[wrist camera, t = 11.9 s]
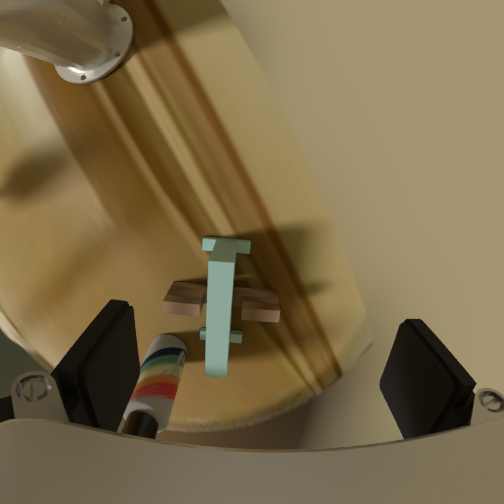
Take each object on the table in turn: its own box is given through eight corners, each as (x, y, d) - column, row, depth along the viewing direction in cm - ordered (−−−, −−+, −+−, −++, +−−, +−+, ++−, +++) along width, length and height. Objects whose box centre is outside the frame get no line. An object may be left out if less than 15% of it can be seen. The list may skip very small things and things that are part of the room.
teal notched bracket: (204, 236, 40) (192, 259, 32) (250, 240, 40) (251, 264, 32) (200, 336, 45) (191, 374, 36) (241, 339, 45) (240, 379, 36)
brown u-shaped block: (173, 292, 42) (163, 312, 37) (173, 281, 42) (162, 301, 36) (275, 300, 43) (278, 322, 37) (276, 289, 42) (280, 310, 37)
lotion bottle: (194, 357, 46) (169, 462, 27) (163, 366, 47) (129, 465, 27) (176, 328, 44) (138, 430, 25) (145, 339, 45) (98, 435, 26)
